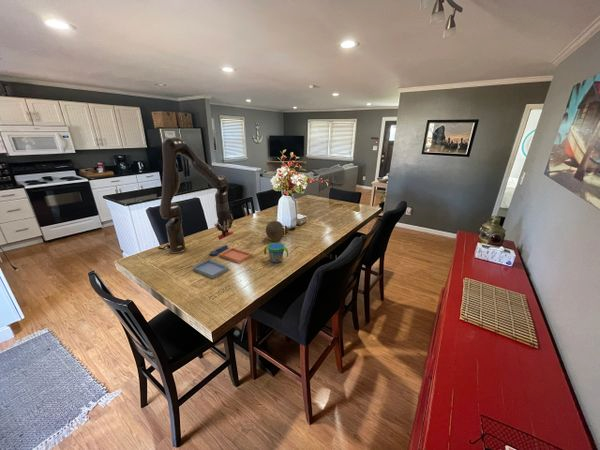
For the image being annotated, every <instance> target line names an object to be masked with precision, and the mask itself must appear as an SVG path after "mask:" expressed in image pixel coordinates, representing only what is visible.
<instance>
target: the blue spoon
mask: <svg viewBox="0 0 600 450" xmlns="http://www.w3.org/2000/svg"><path fill="white" fill-rule="evenodd" d="M228 248H229V247H228V244H224V245H222V246H220V247H218V248H216V249H215V250H211V251H210V253H209V254H210V256H211V257H216V256H218V255H219V254H220V253H222V252H225V251H227V250H229V249H228Z"/></svg>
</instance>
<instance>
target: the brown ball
mask: <svg viewBox="0 0 600 450" xmlns="http://www.w3.org/2000/svg"><path fill="white" fill-rule="evenodd" d="M265 234H266V237H267V238H268V239H269V240H270V241H273V242H279V241H281V240H282V238H283V237H284V234H285V228H284V226H283V224H282V223H281V222H280V221H278V220H273V221H270V222H268V223H267V224H266V227H265Z"/></svg>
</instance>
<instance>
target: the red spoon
mask: <svg viewBox="0 0 600 450" xmlns="http://www.w3.org/2000/svg"><path fill="white" fill-rule="evenodd" d="M232 235H234V231H230V232H229V233H227V232H226V234H225V236H226V237H224V236H223V235H222V234H220V235H218V236H217V238H218V240H219V241H220V240H223V239H225V238H227V237H229V236H232Z"/></svg>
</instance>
